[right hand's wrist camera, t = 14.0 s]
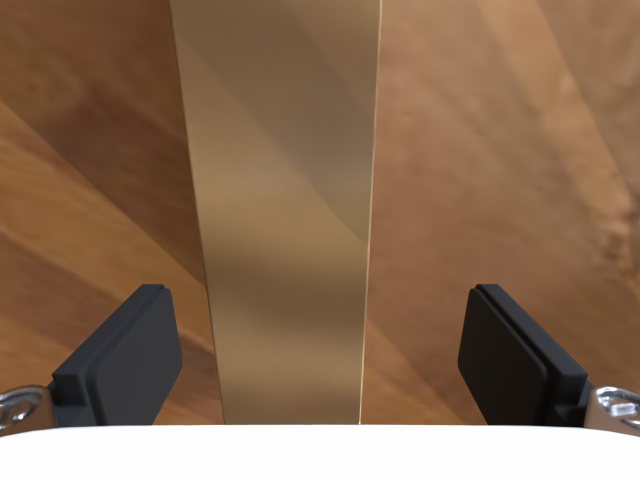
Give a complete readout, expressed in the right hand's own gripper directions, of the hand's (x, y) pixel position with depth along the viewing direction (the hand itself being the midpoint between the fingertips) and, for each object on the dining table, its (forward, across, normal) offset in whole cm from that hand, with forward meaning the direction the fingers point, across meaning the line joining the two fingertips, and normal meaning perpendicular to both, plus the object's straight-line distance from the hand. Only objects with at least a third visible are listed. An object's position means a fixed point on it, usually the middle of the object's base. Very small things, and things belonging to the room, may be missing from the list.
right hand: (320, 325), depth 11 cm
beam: (+9, +2, -20) cm, 22 cm away
